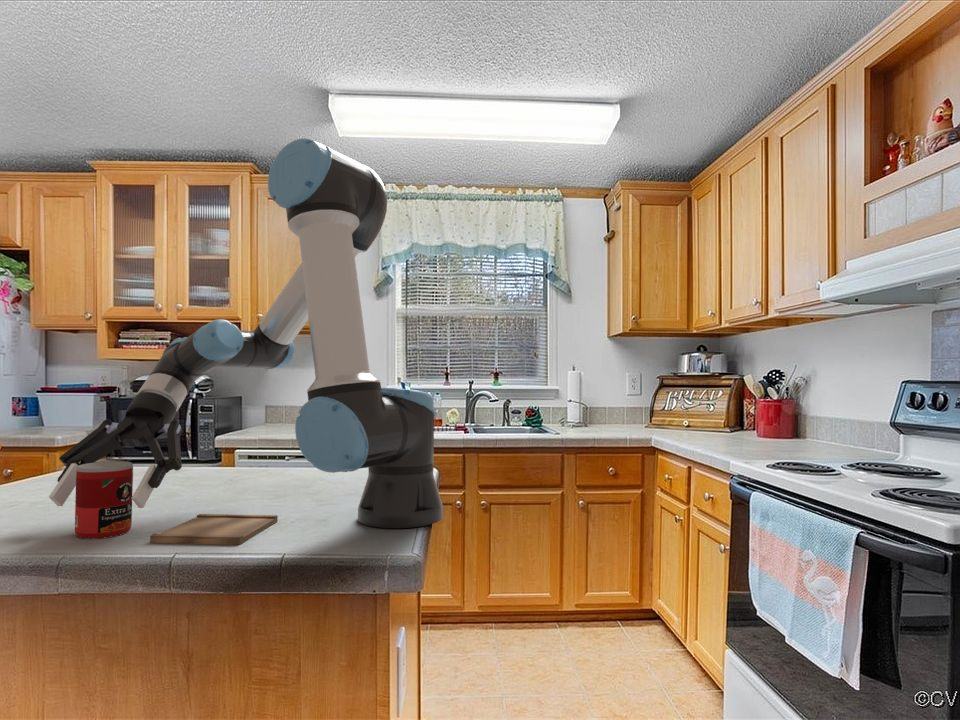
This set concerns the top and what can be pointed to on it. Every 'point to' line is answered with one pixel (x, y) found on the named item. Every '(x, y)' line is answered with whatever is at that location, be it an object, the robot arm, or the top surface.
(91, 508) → the canned food
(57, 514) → the top surface
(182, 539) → the trivet
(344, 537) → the top surface
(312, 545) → the top surface
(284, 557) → the top surface
